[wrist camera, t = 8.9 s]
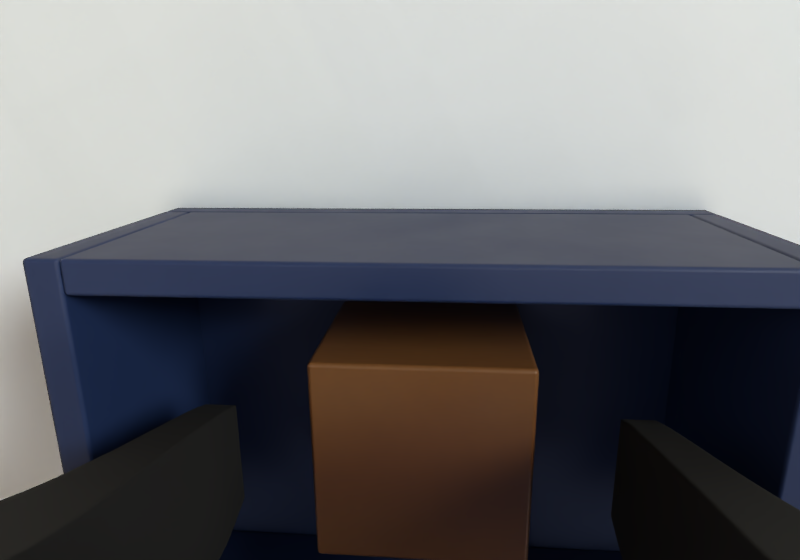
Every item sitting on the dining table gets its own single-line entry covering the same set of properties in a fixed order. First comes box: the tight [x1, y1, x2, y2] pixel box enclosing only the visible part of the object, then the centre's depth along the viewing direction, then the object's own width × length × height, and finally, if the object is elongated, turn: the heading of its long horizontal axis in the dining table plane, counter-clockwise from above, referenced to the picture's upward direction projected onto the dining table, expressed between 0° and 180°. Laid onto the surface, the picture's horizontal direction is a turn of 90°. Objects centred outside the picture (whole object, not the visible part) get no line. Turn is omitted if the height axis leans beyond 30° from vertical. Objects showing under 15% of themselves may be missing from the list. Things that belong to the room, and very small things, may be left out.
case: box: [23, 208, 800, 560], centre depth 12 cm, size 9×12×5 cm
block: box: [307, 301, 539, 560], centre depth 12 cm, size 4×4×4 cm
